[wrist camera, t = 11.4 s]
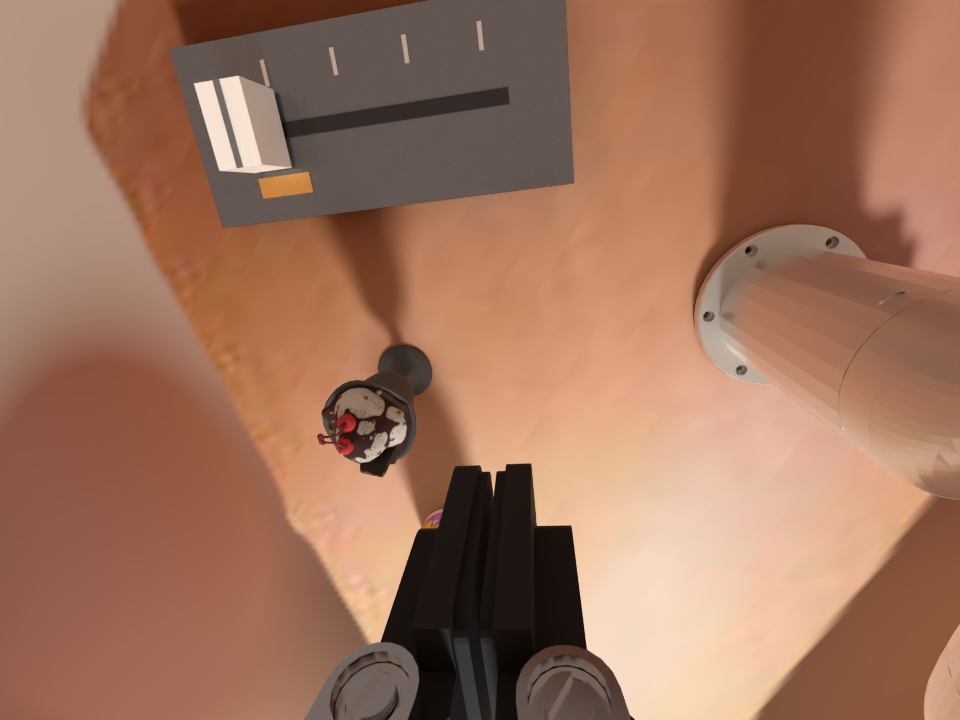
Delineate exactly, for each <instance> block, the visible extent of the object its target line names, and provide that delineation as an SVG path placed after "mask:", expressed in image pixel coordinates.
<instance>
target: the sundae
mask: <svg viewBox="0 0 960 720" xmlns="http://www.w3.org/2000/svg"><path fill="white" fill-rule="evenodd" d="M378 372H379V373H377V374H375V375H373V376H371V377H369V378H368V379H366V380H365V381H360V380H355V381H349V382H347V383H344V384H343V385H341V386H340V387H338V388H337V389H336V390H335V391H334V392H333V393H332V394H331V396H330V397H329V398H328V400H327V401H326V404H325V407H324V409H323V410H322V417H323V423H324V427H325V430H326V432H327V434H328V435H329V436H324V435H322V434H318V436H317V437H318V440H319V444H322V445H324V444H334V445H335V446H336V449H337V451H338V452H339V453H340V454H342V455H343V456H344V457H346V458H348V459H350V460H351V461H354V462H356V463H359V464H360V472H361V473H364V474H368V475H372V476H378V477H383V476H384V475H385V473H386V471H387V469H388V467H389V464H395V463H396V460H398V459H400V458H402V457H403V456H404V455H406V453H407V452H408V451H409V450H410V449H411V447H412V444H413V442H414V438H415V435H416V417H415V413H414V410H413V405H414V396H415V395H418V394H420V393H422V392H423V391H424V390H425V389H426V388H427V387H428V386H429V384H430V382H431V378H432V369H431V365H430V363H429V361H428V359H427V358H426V356H425V355H424V354H423V353H421V352H420V351H419V350H417V349H415V348H412V347H409V346H396V347H393V348H391V349H389V350H387V351H386V352H385V353H384V354H383V355H382V357H381V359H380V361H379V365H378ZM324 438H330V439H331V440H332V442H326V441H324Z"/></svg>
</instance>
